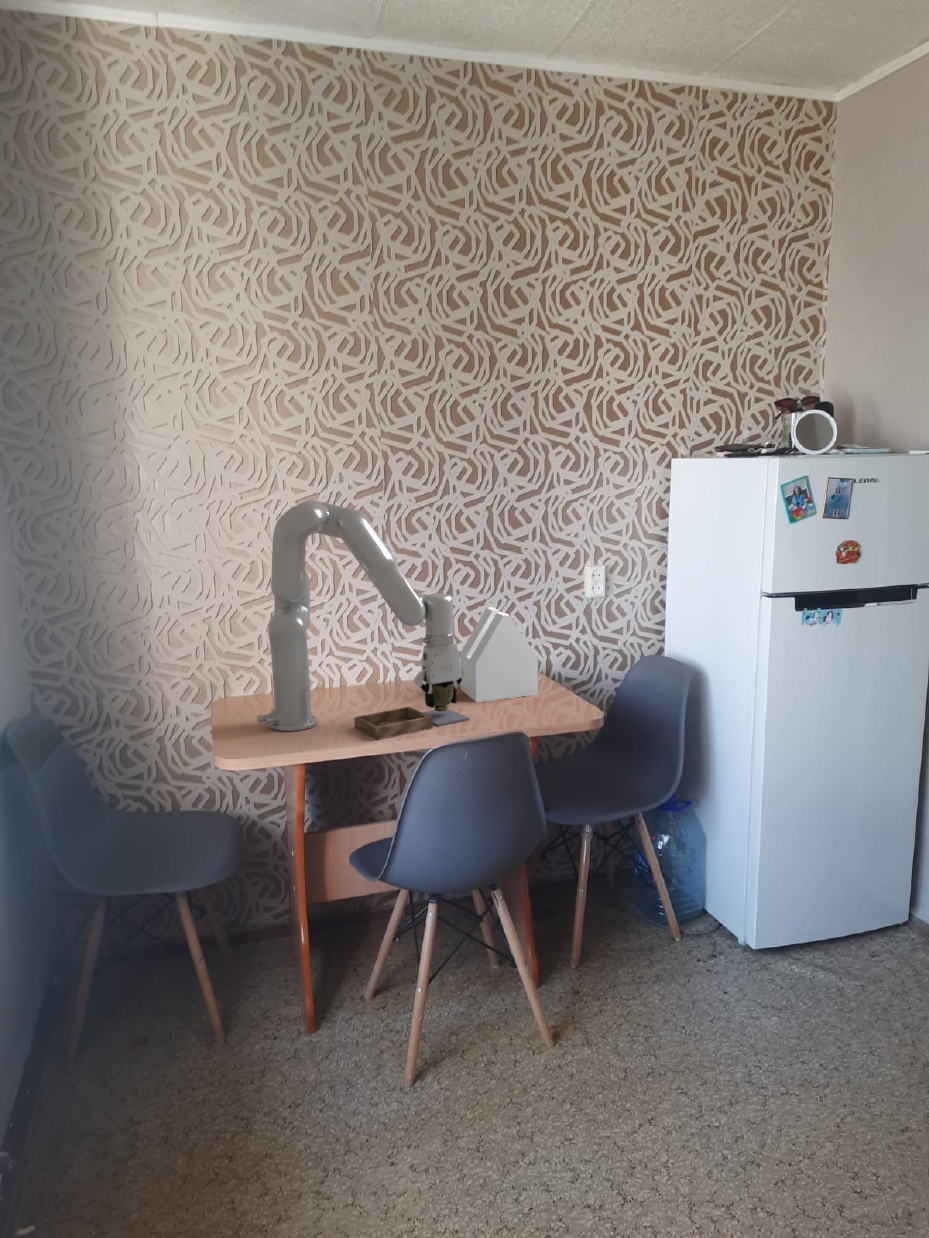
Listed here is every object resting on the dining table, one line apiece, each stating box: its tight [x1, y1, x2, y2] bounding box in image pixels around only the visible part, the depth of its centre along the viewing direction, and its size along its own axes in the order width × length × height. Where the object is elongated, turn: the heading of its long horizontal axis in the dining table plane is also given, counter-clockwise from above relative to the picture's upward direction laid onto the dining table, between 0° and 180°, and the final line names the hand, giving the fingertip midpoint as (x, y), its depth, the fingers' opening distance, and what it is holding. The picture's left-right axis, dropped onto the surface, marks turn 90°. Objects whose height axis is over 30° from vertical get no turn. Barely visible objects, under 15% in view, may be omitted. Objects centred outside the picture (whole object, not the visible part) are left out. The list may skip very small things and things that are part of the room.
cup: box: [427, 682, 454, 712], centre depth 229 cm, size 8×7×8 cm
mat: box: [421, 708, 470, 728], centre depth 230 cm, size 10×12×1 cm
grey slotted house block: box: [459, 606, 539, 703], centre depth 253 cm, size 19×15×25 cm
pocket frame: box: [354, 706, 434, 740], centre depth 221 cm, size 16×12×3 cm
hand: (441, 704), depth 229 cm, fingers closed on cup, 6 cm apart
